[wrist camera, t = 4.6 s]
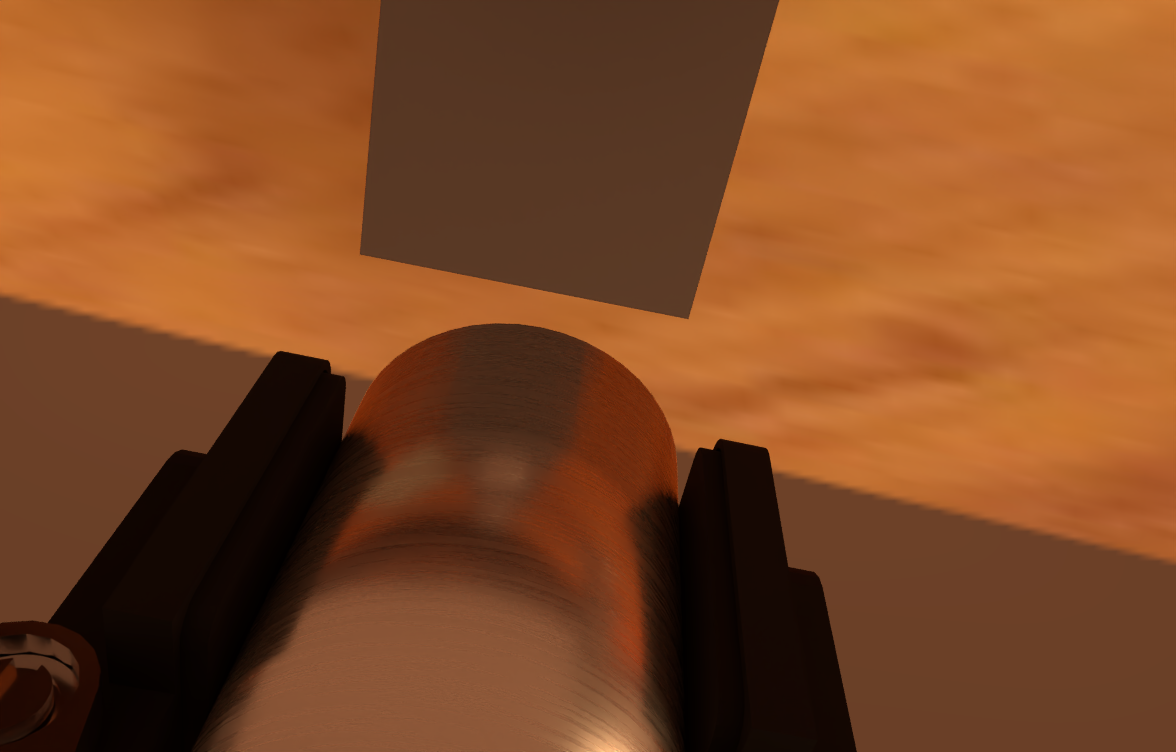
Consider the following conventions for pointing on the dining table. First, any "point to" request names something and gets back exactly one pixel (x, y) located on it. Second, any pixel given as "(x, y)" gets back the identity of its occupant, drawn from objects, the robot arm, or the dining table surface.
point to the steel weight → (477, 567)
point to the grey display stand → (560, 140)
